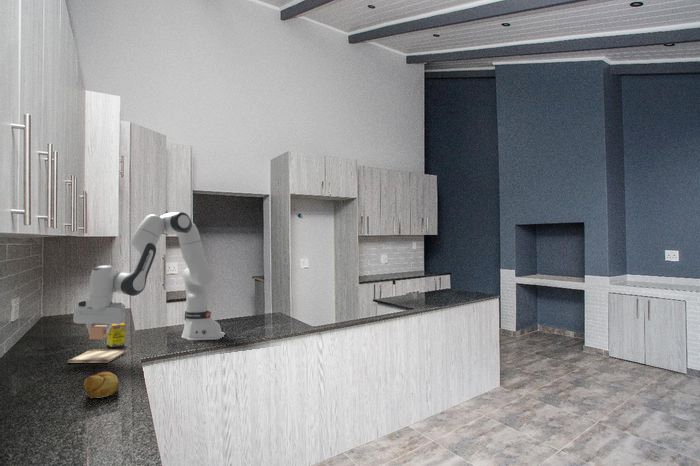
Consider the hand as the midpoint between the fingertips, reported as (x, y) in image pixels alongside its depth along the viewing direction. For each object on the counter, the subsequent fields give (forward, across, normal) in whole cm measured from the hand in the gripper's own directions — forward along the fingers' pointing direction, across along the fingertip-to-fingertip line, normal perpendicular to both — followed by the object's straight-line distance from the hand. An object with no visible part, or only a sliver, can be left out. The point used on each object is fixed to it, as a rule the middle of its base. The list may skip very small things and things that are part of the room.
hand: (98, 333), depth 172 cm
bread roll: (+11, -23, +41) cm, 48 cm away
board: (+11, 0, 0) cm, 11 cm away
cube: (+2, 0, 0) cm, 2 cm away
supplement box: (+11, +2, -20) cm, 23 cm away
